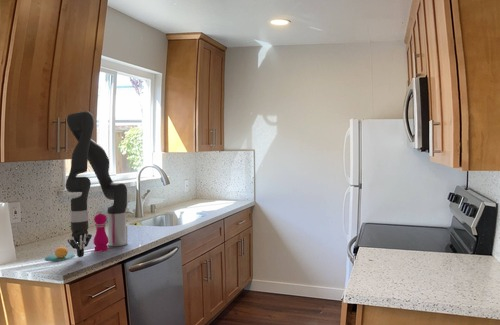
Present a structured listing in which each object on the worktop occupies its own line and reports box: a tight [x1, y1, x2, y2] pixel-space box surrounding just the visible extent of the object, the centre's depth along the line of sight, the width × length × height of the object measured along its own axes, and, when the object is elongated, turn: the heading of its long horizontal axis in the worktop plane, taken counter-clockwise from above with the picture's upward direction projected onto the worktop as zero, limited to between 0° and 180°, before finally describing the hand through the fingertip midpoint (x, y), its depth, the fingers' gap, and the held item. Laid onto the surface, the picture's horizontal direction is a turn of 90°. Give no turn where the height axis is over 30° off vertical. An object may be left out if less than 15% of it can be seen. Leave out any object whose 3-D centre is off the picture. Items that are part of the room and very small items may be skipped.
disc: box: [44, 252, 75, 262], centre depth 197 cm, size 13×13×1 cm
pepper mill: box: [92, 210, 109, 252], centre depth 209 cm, size 7×7×20 cm
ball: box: [54, 246, 69, 258], centre depth 195 cm, size 6×6×6 cm
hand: (80, 256), depth 191 cm, fingers closed
